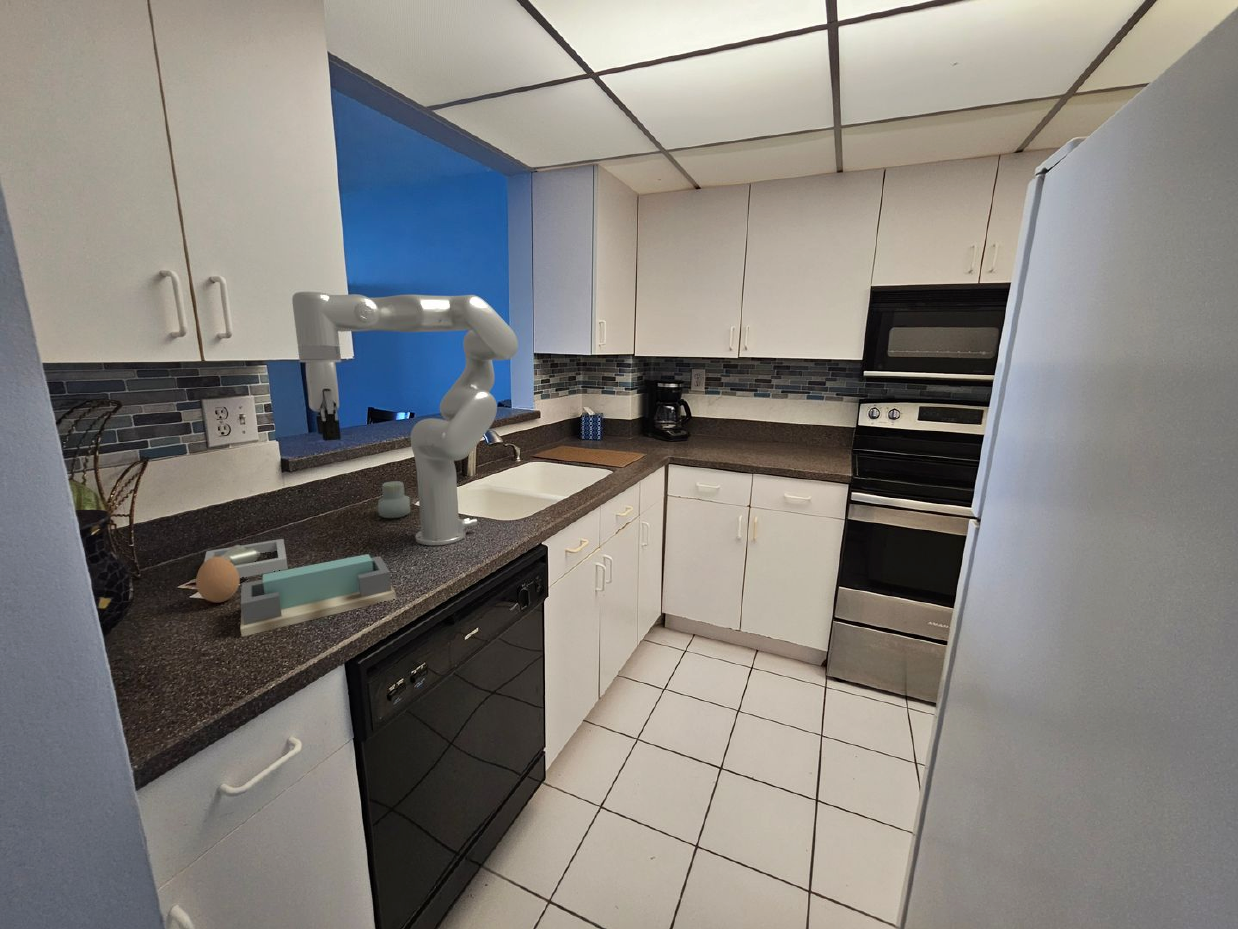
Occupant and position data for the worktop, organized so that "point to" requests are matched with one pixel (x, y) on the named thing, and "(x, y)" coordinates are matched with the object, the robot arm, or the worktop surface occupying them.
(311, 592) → the slat
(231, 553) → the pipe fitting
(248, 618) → the grey slat holder
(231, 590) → the egg
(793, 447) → the worktop surface
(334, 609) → the base board
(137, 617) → the worktop surface
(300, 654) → the worktop surface
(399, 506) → the air freshener
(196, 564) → the worktop surface
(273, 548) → the parts tray
